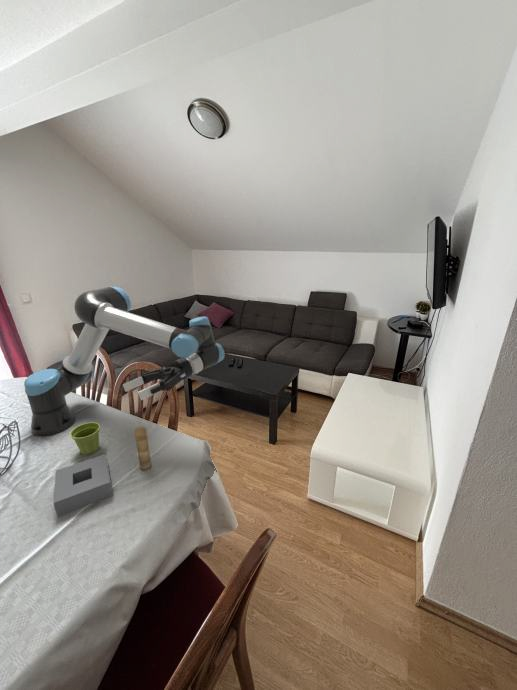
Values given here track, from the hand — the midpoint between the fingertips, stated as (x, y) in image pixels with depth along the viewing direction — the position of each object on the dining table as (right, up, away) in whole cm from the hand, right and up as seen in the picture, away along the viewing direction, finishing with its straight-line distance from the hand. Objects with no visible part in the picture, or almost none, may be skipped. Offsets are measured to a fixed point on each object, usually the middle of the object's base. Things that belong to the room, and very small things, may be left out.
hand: (131, 392), depth 91 cm
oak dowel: (+2, -27, +6) cm, 28 cm away
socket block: (-13, -30, -3) cm, 33 cm away
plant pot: (-22, -24, +14) cm, 36 cm away
